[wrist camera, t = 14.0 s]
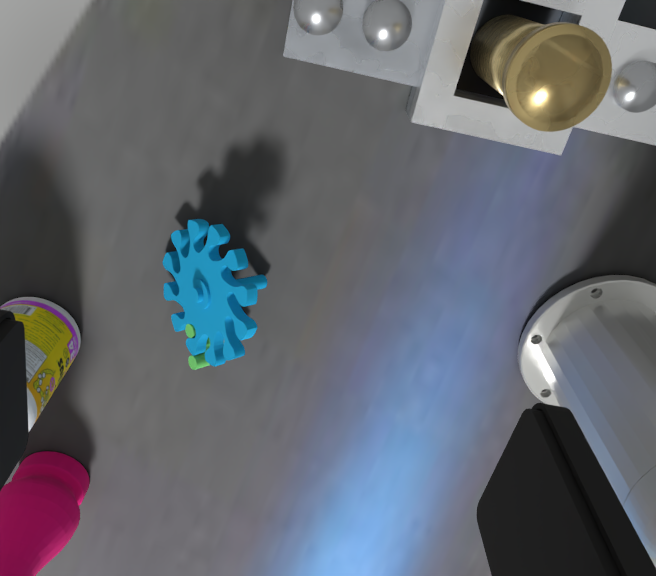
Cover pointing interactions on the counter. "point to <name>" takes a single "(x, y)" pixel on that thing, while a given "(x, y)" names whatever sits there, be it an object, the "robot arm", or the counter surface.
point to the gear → (210, 294)
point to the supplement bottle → (44, 348)
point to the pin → (543, 69)
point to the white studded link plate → (449, 55)
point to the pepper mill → (39, 511)
